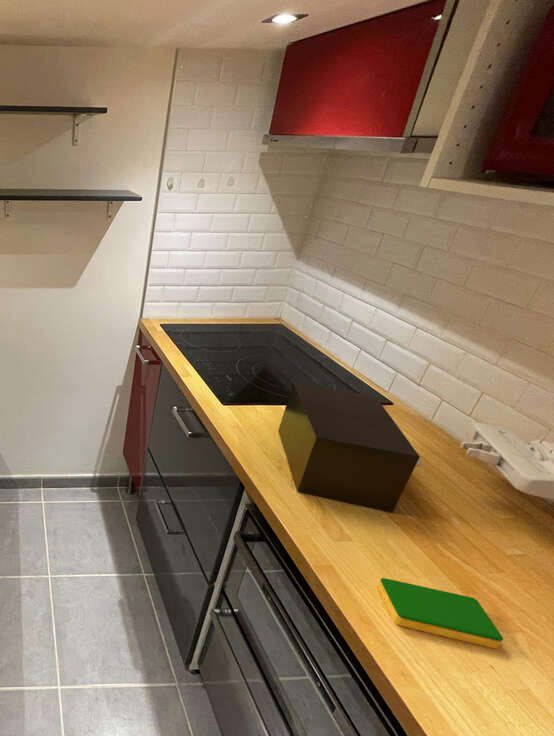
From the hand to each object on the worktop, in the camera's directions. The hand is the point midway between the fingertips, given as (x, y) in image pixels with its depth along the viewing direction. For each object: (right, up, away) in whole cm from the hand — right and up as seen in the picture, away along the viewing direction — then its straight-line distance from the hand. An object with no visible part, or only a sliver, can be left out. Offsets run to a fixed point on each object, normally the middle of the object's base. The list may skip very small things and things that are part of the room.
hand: (464, 448), depth 96 cm
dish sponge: (-27, -22, -22) cm, 42 cm away
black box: (-22, -7, +11) cm, 25 cm away
